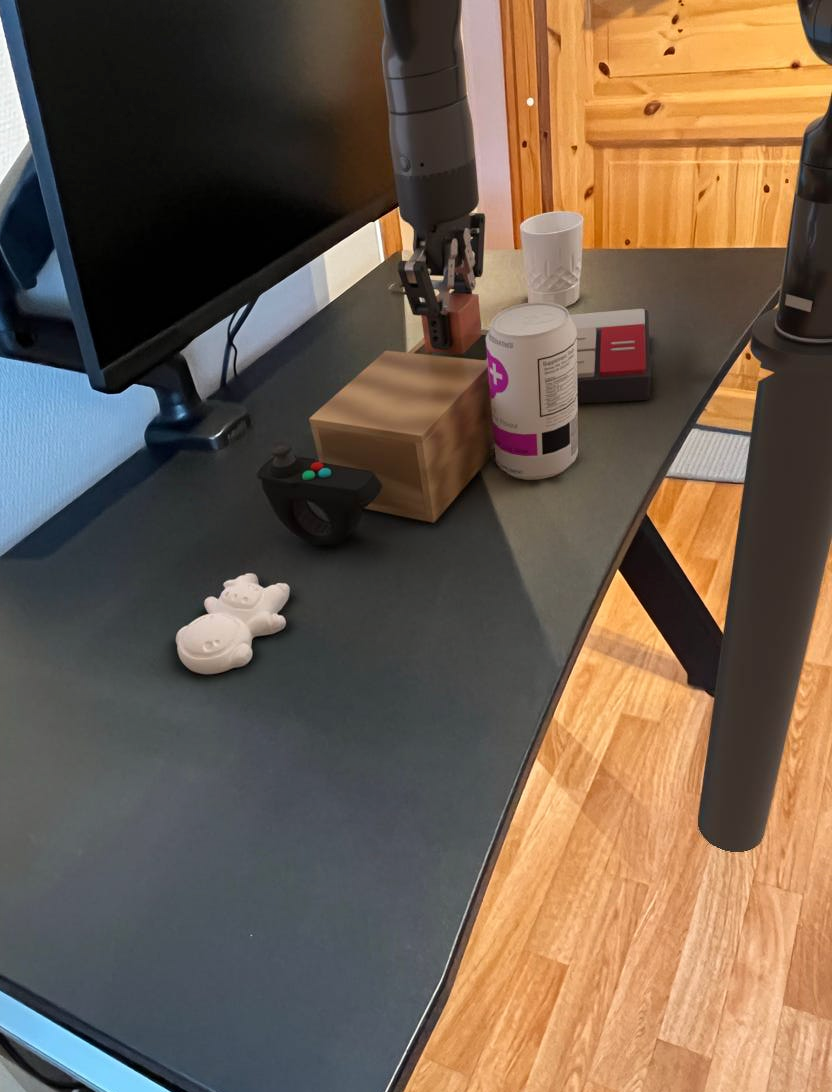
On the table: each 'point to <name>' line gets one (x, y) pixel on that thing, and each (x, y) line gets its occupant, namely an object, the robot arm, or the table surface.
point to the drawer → (474, 352)
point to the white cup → (552, 256)
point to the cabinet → (411, 429)
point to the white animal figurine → (232, 625)
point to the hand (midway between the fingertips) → (453, 336)
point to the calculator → (613, 356)
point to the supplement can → (533, 389)
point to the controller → (316, 495)
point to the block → (459, 323)
